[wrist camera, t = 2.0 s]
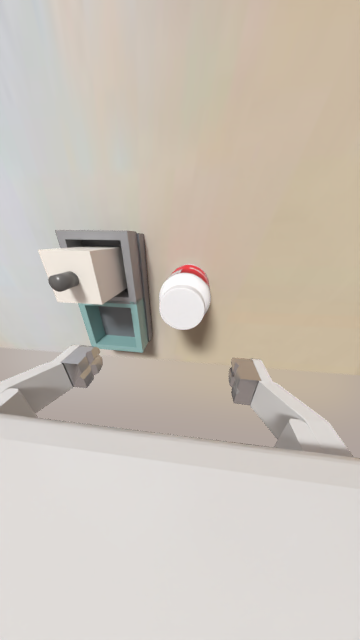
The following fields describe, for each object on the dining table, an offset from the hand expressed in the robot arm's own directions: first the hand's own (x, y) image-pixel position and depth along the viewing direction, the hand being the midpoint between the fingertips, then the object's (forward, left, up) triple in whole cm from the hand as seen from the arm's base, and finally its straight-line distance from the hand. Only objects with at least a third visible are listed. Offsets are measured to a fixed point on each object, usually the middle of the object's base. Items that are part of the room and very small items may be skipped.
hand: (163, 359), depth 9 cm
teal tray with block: (+12, +2, -18) cm, 22 cm away
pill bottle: (0, 0, -18) cm, 18 cm away
